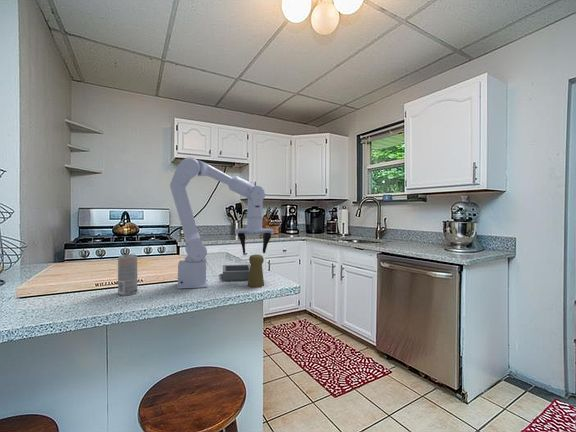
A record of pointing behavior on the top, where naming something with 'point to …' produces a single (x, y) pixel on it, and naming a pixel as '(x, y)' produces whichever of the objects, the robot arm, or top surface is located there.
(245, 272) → the box
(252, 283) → the cork
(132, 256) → the energy drink
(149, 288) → the top surface
